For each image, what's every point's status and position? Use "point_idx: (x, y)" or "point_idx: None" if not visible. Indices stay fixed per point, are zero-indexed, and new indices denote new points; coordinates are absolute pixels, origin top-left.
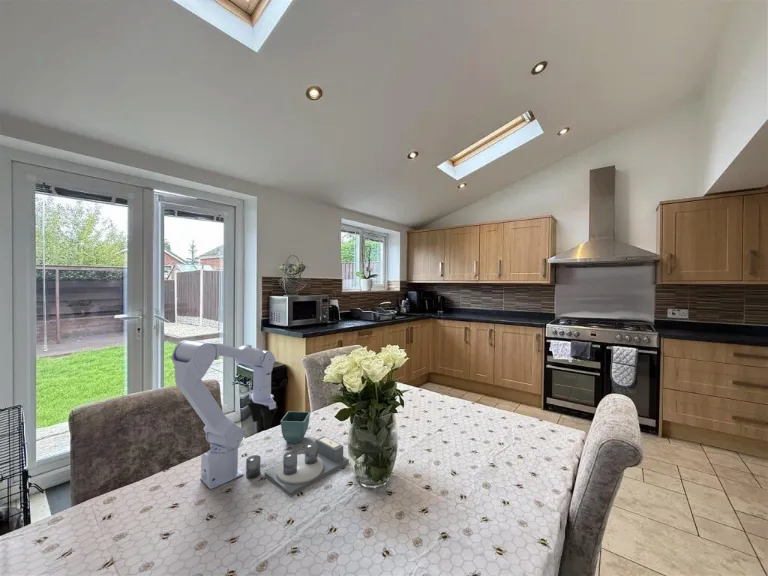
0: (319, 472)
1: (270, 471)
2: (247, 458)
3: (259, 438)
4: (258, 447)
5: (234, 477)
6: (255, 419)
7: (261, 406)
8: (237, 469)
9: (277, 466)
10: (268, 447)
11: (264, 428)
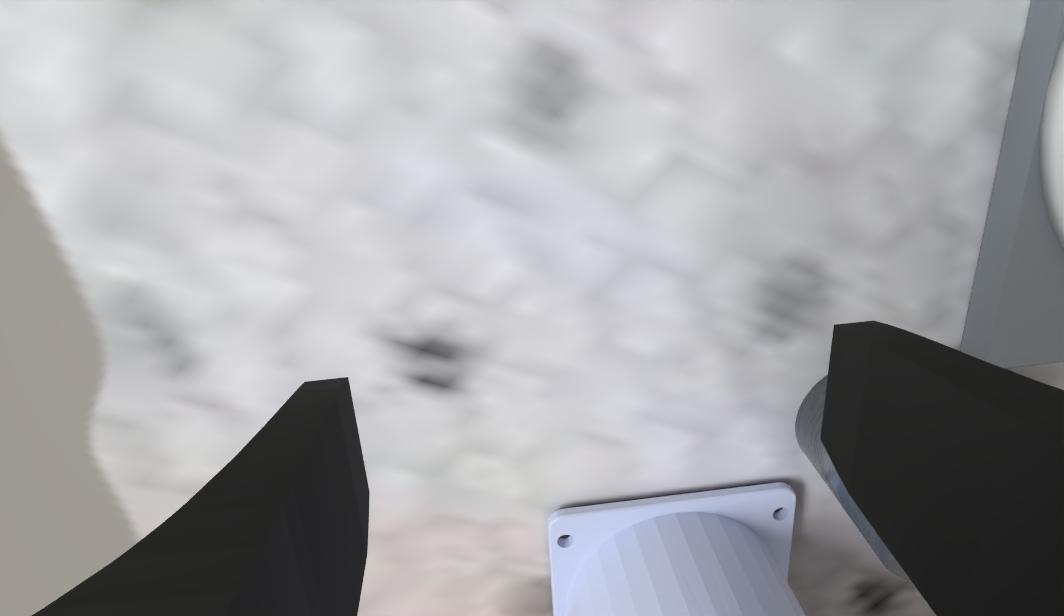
0: None
1: (1029, 324)
2: (887, 562)
3: (75, 49)
4: (361, 175)
5: (788, 552)
6: (356, 495)
7: (249, 582)
8: (744, 536)
9: (1027, 235)
10: (456, 69)
11: (831, 437)
